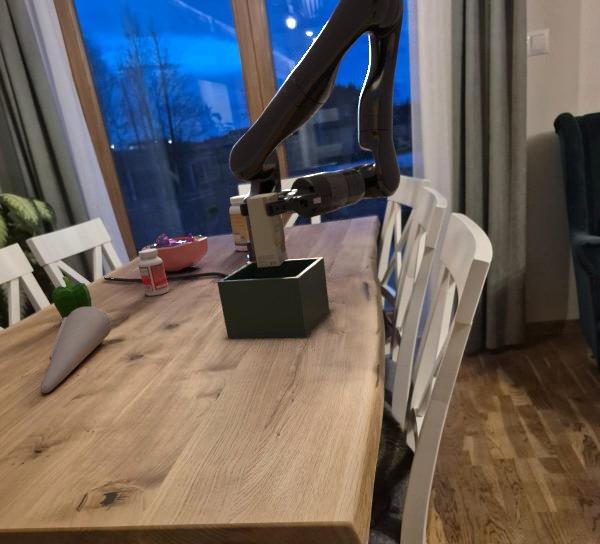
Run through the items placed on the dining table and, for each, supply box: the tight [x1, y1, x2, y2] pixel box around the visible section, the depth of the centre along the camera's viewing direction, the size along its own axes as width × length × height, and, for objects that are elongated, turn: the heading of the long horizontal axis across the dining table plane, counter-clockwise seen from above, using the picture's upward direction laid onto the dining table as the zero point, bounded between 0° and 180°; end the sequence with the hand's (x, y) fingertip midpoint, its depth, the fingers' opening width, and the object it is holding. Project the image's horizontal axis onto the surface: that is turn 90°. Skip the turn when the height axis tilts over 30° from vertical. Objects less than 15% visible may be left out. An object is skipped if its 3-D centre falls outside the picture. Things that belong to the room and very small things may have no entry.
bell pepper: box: [51, 275, 93, 320], centre depth 135 cm, size 8×8×10 cm
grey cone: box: [40, 306, 112, 394], centre depth 105 cm, size 8×9×26 cm
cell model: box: [141, 233, 209, 273], centre depth 175 cm, size 17×20×11 cm
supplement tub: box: [228, 194, 249, 252], centre depth 192 cm, size 12×12×17 cm
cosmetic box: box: [247, 193, 286, 268], centre depth 105 cm, size 6×4×12 cm
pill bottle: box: [137, 249, 170, 297], centre depth 149 cm, size 6×6×11 cm
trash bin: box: [217, 257, 330, 339], centre depth 111 cm, size 16×16×11 cm
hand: (254, 210), depth 102 cm, fingers closed on cosmetic box, 7 cm apart
